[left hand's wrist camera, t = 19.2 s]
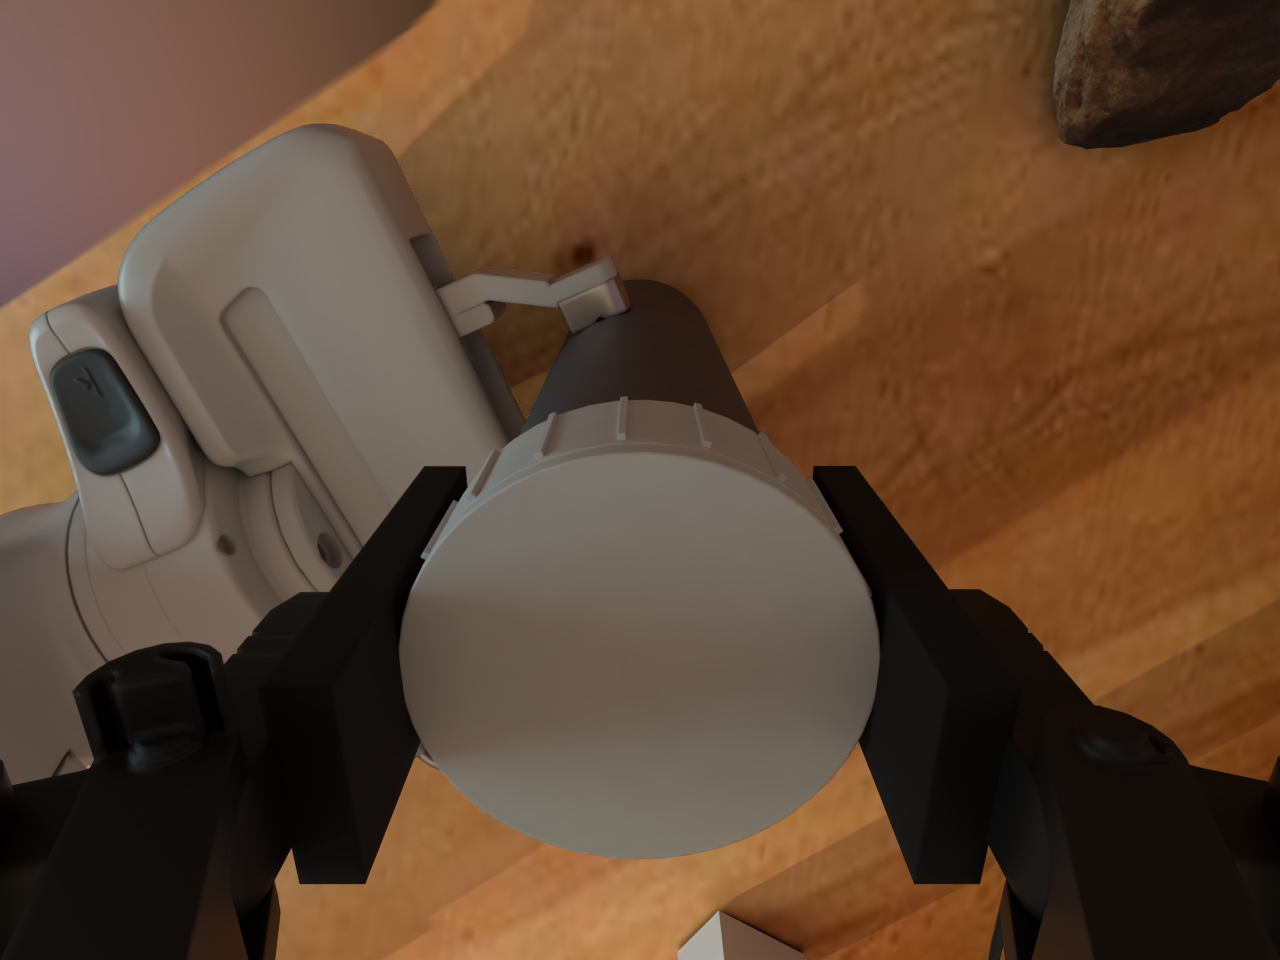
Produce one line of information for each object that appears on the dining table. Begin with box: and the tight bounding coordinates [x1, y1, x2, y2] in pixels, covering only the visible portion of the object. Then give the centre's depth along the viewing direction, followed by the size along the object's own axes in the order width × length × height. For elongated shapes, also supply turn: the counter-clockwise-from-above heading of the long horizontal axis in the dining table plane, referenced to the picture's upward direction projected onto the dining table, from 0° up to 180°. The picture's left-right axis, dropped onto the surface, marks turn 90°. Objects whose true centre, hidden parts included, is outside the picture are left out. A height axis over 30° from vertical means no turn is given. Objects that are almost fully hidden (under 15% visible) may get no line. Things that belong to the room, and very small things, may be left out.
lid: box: [399, 396, 880, 859], centre depth 11 cm, size 6×6×2 cm
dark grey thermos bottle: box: [520, 280, 759, 435], centre depth 20 cm, size 6×6×20 cm
